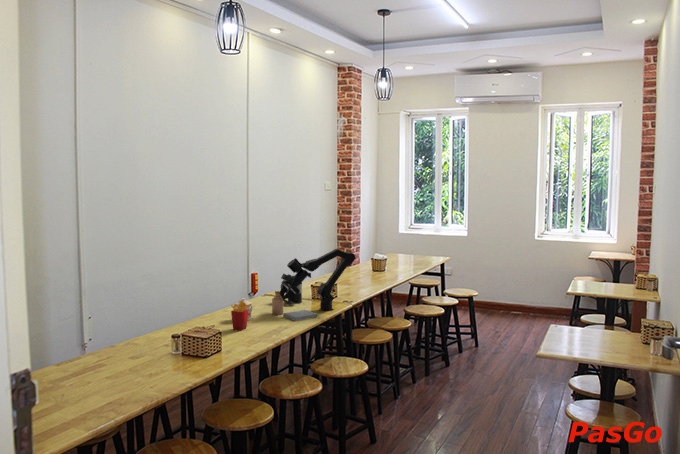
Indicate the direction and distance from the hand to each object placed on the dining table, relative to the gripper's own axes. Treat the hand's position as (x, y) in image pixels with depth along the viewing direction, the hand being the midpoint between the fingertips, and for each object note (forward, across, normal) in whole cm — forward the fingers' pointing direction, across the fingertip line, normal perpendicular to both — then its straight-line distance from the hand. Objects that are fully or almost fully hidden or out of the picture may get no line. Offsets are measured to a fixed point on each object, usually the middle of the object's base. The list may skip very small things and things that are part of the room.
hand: (280, 297), depth 317 cm
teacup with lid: (+22, +5, -9) cm, 25 cm away
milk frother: (-4, -24, +17) cm, 30 cm away
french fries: (+27, +26, -13) cm, 40 cm away
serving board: (+1, +12, +12) cm, 17 cm away
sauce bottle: (+8, 0, +5) cm, 9 cm away
